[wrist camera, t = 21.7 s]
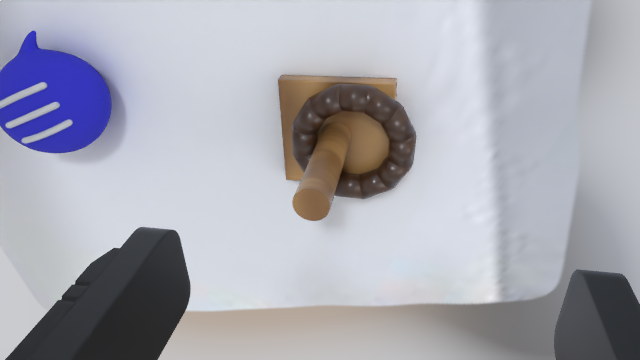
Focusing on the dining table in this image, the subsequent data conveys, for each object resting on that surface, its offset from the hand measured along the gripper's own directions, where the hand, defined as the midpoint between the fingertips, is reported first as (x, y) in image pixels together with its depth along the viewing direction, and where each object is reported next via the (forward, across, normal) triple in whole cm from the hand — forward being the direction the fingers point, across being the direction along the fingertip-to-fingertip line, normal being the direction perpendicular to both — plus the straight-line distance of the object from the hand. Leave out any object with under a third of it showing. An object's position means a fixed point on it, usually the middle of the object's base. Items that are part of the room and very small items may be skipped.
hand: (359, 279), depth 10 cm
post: (+28, +5, +10) cm, 30 cm away
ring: (+26, +4, +10) cm, 28 cm away
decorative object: (+28, +29, +7) cm, 41 cm away
